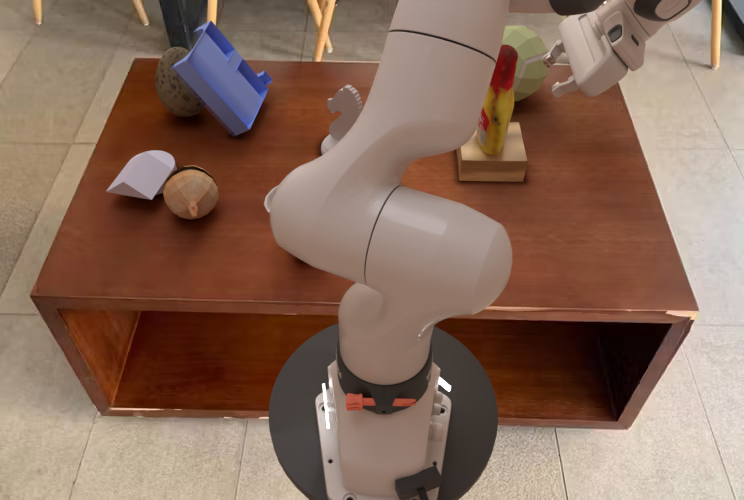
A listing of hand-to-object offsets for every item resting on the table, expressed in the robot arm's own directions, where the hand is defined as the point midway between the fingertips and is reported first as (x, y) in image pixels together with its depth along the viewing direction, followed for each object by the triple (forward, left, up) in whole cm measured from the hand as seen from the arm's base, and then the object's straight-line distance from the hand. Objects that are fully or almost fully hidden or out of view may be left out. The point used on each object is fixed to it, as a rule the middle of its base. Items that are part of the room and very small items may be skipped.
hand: (548, 77), depth 118 cm
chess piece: (+3, +36, -19) cm, 41 cm away
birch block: (0, +8, -19) cm, 21 cm away
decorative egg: (+15, +70, -19) cm, 74 cm away
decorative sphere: (+22, 0, -4) cm, 23 cm away
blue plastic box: (+14, +59, -8) cm, 61 cm away
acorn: (-9, +64, -17) cm, 66 cm away
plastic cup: (-24, +40, -19) cm, 51 cm away
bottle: (0, +8, -14) cm, 16 cm away
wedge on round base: (-15, +74, -16) cm, 77 cm away
